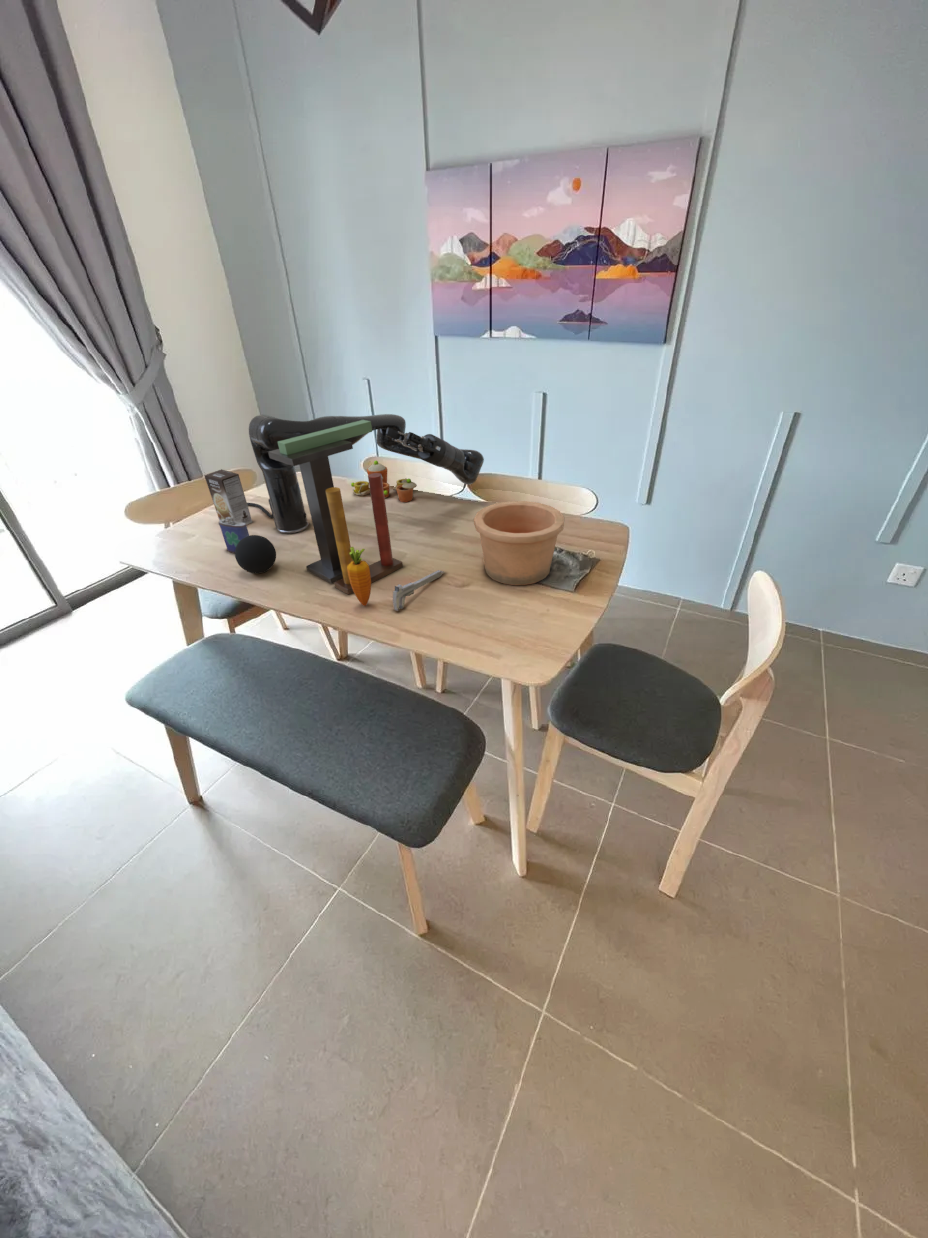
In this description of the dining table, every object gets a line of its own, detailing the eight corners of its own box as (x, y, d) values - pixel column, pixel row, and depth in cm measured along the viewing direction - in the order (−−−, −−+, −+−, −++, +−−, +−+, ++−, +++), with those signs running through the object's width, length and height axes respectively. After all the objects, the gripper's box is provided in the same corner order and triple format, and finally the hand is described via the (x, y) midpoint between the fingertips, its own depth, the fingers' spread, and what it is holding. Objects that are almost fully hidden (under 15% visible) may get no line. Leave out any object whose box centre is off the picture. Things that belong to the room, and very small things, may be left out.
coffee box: (219, 523, 159) (202, 474, 150) (236, 516, 164) (220, 468, 155) (237, 529, 155) (221, 479, 146) (253, 522, 160) (239, 473, 151)
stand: (348, 552, 139) (325, 435, 121) (372, 563, 133) (353, 442, 115) (298, 574, 129) (266, 451, 111) (323, 587, 123) (293, 459, 105)
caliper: (398, 613, 113) (394, 589, 109) (394, 612, 113) (390, 588, 110) (444, 573, 127) (442, 551, 124) (440, 572, 128) (439, 550, 124)
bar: (364, 430, 124) (363, 419, 123) (372, 431, 122) (370, 421, 121) (280, 453, 110) (277, 441, 108) (287, 455, 108) (284, 443, 106)
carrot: (355, 600, 118) (344, 543, 109) (376, 599, 118) (366, 542, 110) (353, 612, 114) (341, 554, 105) (374, 610, 114) (364, 552, 105)
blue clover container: (256, 551, 142) (245, 516, 136) (249, 556, 139) (238, 520, 133) (231, 547, 145) (220, 513, 139) (224, 551, 142) (212, 517, 136)
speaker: (236, 570, 133) (224, 536, 127) (272, 558, 138) (263, 525, 132) (248, 584, 126) (236, 549, 120) (285, 571, 131) (276, 537, 125)
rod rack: (389, 560, 134) (376, 469, 120) (403, 566, 131) (391, 473, 117) (335, 587, 123) (314, 490, 109) (348, 594, 120) (328, 496, 106)
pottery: (503, 600, 115) (504, 544, 107) (460, 562, 132) (458, 511, 124) (577, 576, 123) (583, 523, 115) (528, 543, 140) (530, 494, 131)
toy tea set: (347, 495, 177) (342, 468, 171) (372, 481, 188) (368, 455, 182) (408, 505, 166) (405, 477, 161) (431, 490, 178) (429, 463, 172)
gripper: (423, 435, 147) (383, 415, 134) (458, 442, 139) (420, 422, 126) (416, 460, 148) (376, 443, 135) (450, 468, 140) (412, 452, 127)
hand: (397, 433), depth 131 cm, fingers open, 8 cm apart
